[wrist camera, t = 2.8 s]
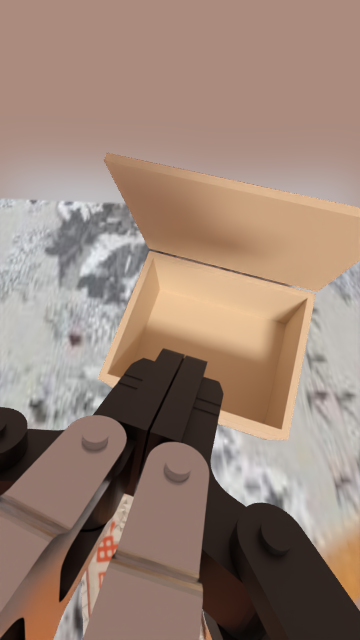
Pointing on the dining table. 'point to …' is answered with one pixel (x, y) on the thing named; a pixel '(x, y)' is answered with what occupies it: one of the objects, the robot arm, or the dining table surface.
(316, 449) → the dining table surface
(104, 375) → the mailer box
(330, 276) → the lid
